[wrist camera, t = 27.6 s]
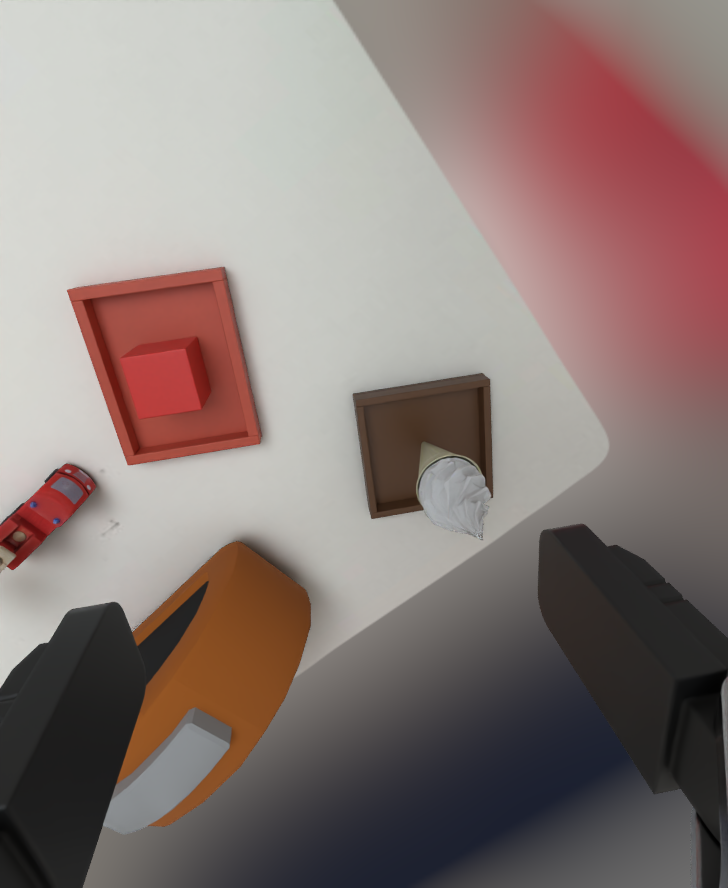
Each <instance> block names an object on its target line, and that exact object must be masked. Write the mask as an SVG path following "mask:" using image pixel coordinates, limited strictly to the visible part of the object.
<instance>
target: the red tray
mask: <svg viewBox="0 0 728 888" xmlns="http://www.w3.org/2000/svg"><path fill="white" fill-rule="evenodd" d="M67 292H68V295H69V298H70V300H71V303H72V306H73V309H74V312H75V315H76V317H77V320H78V323H79V326H80V329H81V332H82V335H83V338H84V340H85V343H86V346H87V349H88V352H89V355H90V358H91V361H92V364H93V366H94V369H95V372H96V375H97V378H98V381H99V384H100V387H101V390H102V392H103V395H104V398H105V401H106V404H107V407H108V410H109V413H110V415H111V418H112V421H113V424H114V427H115V430H116V433H117V436H118V439H119V441H120V444H121V447H122V450H123V453H124V456H126V457H125V458H126V461H127V464H128V465H134V464H140V463H147V462H153V461H159V460H165V459H171V458H177V457H183V456H189V455H195V454H202V453H208V452H214V451H220V450H226V449H232V448H238V447H244V446H250V445H257V444H260V442H261V437H262V434H261V430H260V425H259V421H258V416H257V412H256V407H255V403H254V399H253V394H252V390H251V385H250V381H249V376H248V372H247V367H246V363H245V358H244V354H243V349H242V345H241V340H240V336H239V331H238V327H237V322H236V318H235V313H234V309H233V304H232V300H231V295H230V291H229V286H228V282H227V278H226V273H225V269H224V267H220V268H212V269H205V270H198V271H191V272H184V273H177V274H169V275H162V276H155V277H148V278H141V279H134V280H126V281H119V282H112V283H105V284H98V285H91V286H83V287H77V288H73V289H69V290H67ZM195 336H196V337H198V341H199V345H200V349H201V353H202V357H203V361H204V365H205V369H206V373H207V376H208V380H209V384H210V388H211V393H210V395H209V397H208V399H207V401H206V403H205V405H204V407H203V408H202V410H197V411H191V412H184V413H178V414H172V415H165V416H159V417H153V418H146V419H139V418H138V415H137V412H136V409H135V406H134V403H133V400H132V397H131V394H130V391H129V387H128V384H127V381H126V378H125V375H124V372H123V369H122V366H121V363H120V360H119V358H121V357H122V356H123V355H125V354H126V353H128V352H129V351H130V350H132V349H133V348H135V347H136V346H138V345H141V344H148V343H155V342H161V341H168V340H175V339H182V338H188V337H195Z"/></svg>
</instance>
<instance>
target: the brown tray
mask: <svg viewBox="0 0 728 888" xmlns="http://www.w3.org/2000/svg"><path fill="white" fill-rule="evenodd" d="M353 400H354V407H355V414H356V421H357V428H358V435H359V442H360V450H361V457H362V464H363V471H364V478H365V485H366V492H367V499H368V507H369V511H370V515H371V518H372V519H375V518H381V517H386V516H392V515H398V514H403V513H409V512H415V511H420V510H424V509H423V506H422V505H421V504H420V502H419V500H418V498H417V494H416V485H417V480H418V476H419V465H420V453H421V444H422V442H427V443H429V444H432V445H434V446H437V447H439V448H441V449H444V450H446V451H449V452H451V453H454V454H456V455H461V456H465V457H467V458H469V459H471V460H472V461H474V462H475V463H476V464H477V465H478V467H479V468H480V470H481V473H482V475H483V476H484V477H485V487H487V488H488V489H489V492H490V493H491V497H490V498H493V475H492V437H491V399H490V379H489V378H488V377H486V376H485V375H484V374H482V373H481V374H475V375H468V376H462V377H456V378H449V379H443V380H437V381H431V382H424V383H418V384H412V385H405V386H399V387H393V388H387V389H380V390H374V391H368V392H361V393H355V394H353Z"/></svg>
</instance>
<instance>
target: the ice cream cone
mask: <svg viewBox="0 0 728 888" xmlns="http://www.w3.org/2000/svg"><path fill="white" fill-rule="evenodd" d="M416 494H417V498H418V500H419V502H420V504H421V505H422V506H423V509H424V511H425V513H426V515H427V516H428V517H429V519H430V520H431V521H432V522H433V524H434V525H437V526H440V527H442V528H445V529H447V530H450V531H453V530H454V531H455V532H459V533H466V534H469V535H472V536H474V537H476V538H478V539H480V540H483V525H484V524H483V518H484V517H485V516H486V515H487V513H488V512H487V511H488V509H489V506H487V505H485V504H484V503H485V502H486V501H488V500H489V499H490V497H491V493H490V492H489V489H488V488H487V487H485V477H484V476H483V475H482V473H481V470H480V468H479V467H478V465H477V464H476V463H475V462H474V461H472V460H471V459H469V458H467V457H465V456H461V455H456V454H454V453H451V452H449V451H446V450H444V449H441V448H439V447H437V446H434V445H432V444H429V443H427V442H422V444H421V453H420V465H419V476H418V480H417V485H416Z"/></svg>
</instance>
